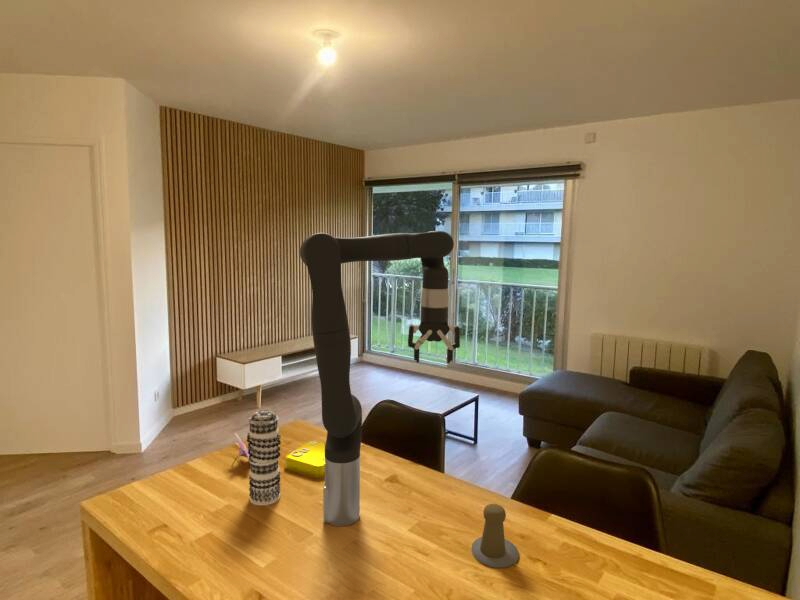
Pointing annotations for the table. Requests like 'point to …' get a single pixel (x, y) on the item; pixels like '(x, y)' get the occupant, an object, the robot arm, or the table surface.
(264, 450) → the decorative candle
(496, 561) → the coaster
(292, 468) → the element tile
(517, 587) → the table surface
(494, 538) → the olive game pawn
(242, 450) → the lily
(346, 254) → the robot arm
